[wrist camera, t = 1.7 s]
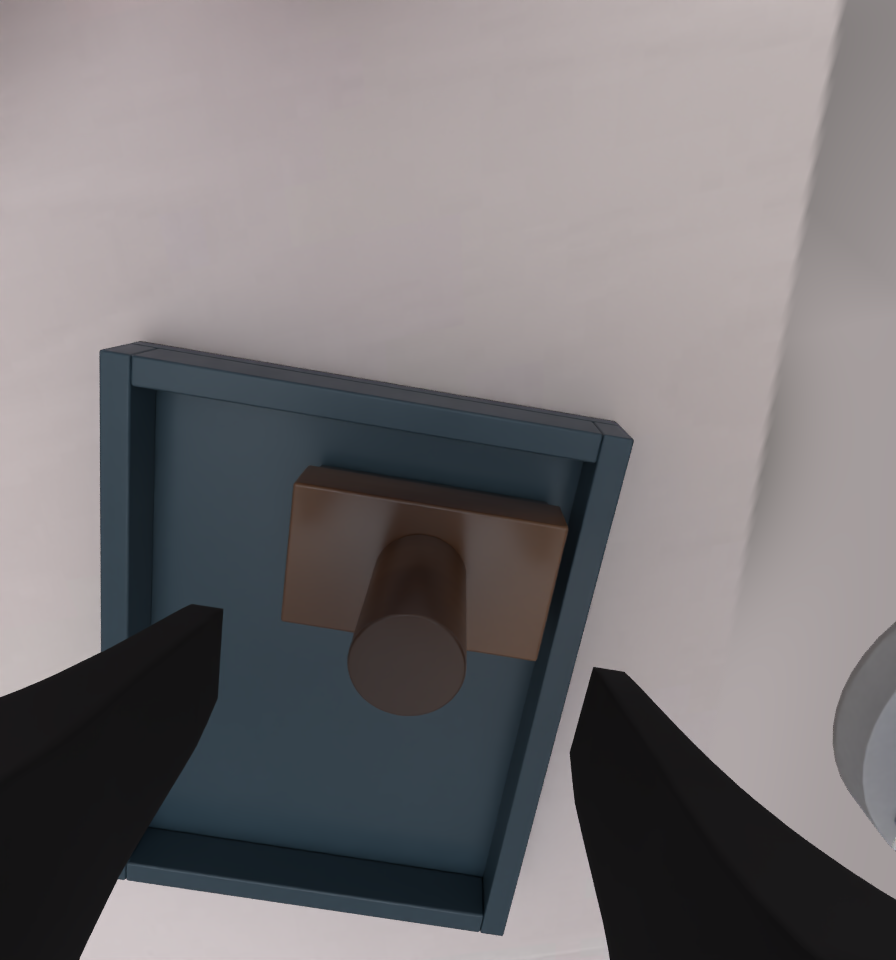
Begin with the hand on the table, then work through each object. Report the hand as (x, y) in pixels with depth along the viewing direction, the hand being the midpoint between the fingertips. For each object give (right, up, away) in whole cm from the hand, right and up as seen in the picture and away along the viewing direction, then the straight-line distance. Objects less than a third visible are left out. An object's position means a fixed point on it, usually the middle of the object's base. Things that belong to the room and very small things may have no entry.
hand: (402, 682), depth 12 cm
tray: (-2, -2, +8) cm, 9 cm away
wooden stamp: (0, +2, +7) cm, 7 cm away
